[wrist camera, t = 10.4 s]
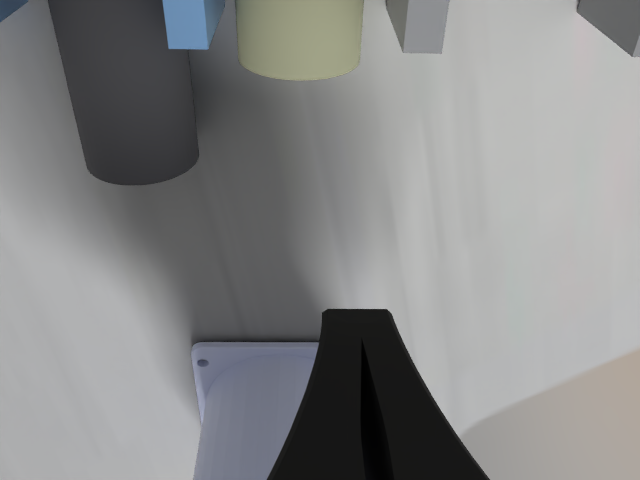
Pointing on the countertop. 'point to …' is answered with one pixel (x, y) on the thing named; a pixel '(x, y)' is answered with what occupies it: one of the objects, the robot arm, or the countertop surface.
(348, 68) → the olive yellow cylinder
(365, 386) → the robot arm
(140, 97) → the dark grey cylinder
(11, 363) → the countertop surface
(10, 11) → the rectangular blocks
